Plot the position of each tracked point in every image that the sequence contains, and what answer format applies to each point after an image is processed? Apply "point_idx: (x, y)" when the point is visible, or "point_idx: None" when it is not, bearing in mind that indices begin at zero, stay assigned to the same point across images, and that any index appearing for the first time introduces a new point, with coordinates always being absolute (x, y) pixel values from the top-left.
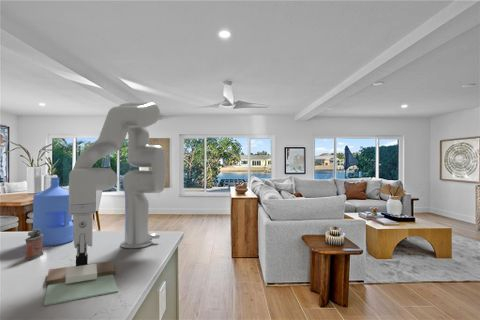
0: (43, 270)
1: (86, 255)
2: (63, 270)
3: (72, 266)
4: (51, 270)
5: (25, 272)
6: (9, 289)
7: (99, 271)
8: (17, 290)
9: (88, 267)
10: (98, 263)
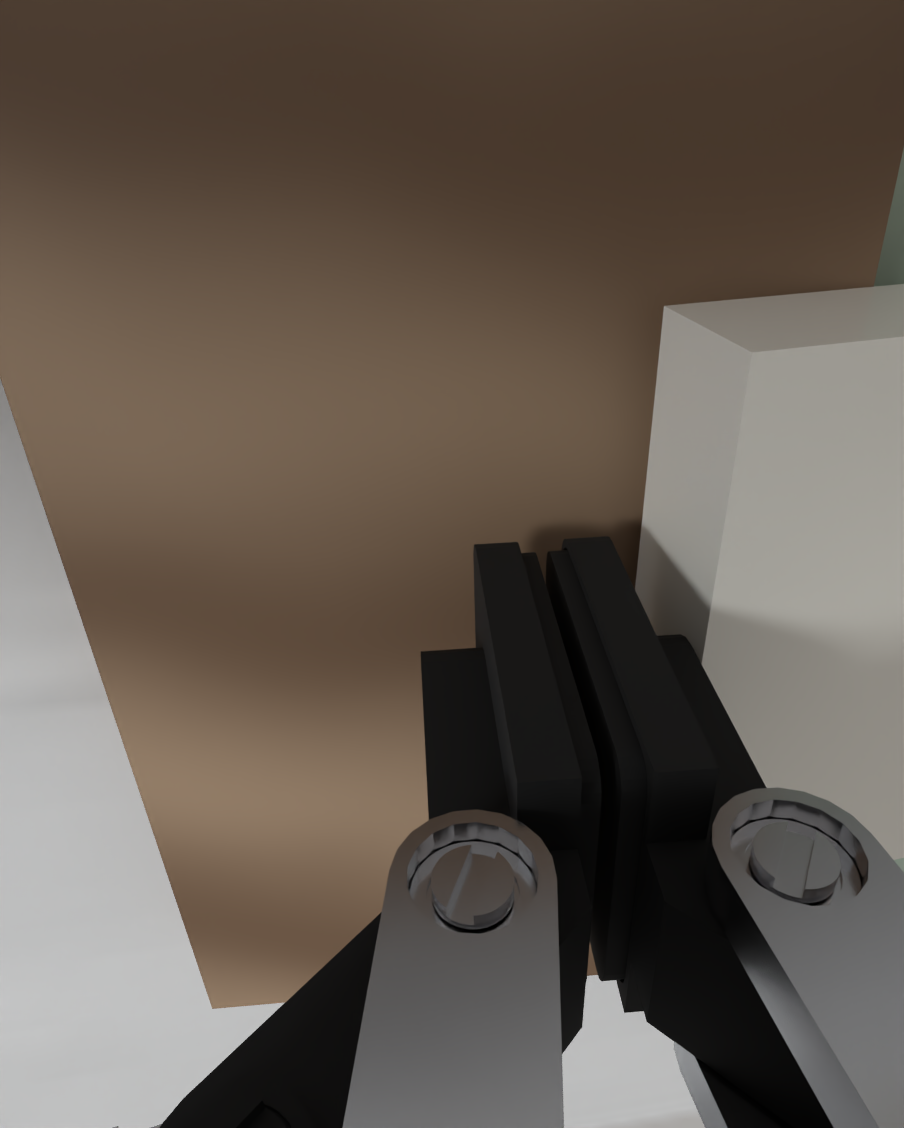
0: (20, 1006)
1: (826, 809)
2: (341, 855)
3: (147, 763)
4: (276, 980)
5: (58, 1121)
6: (578, 1113)
7: (791, 207)
8: (651, 1065)
9: (871, 536)
10: (49, 230)
